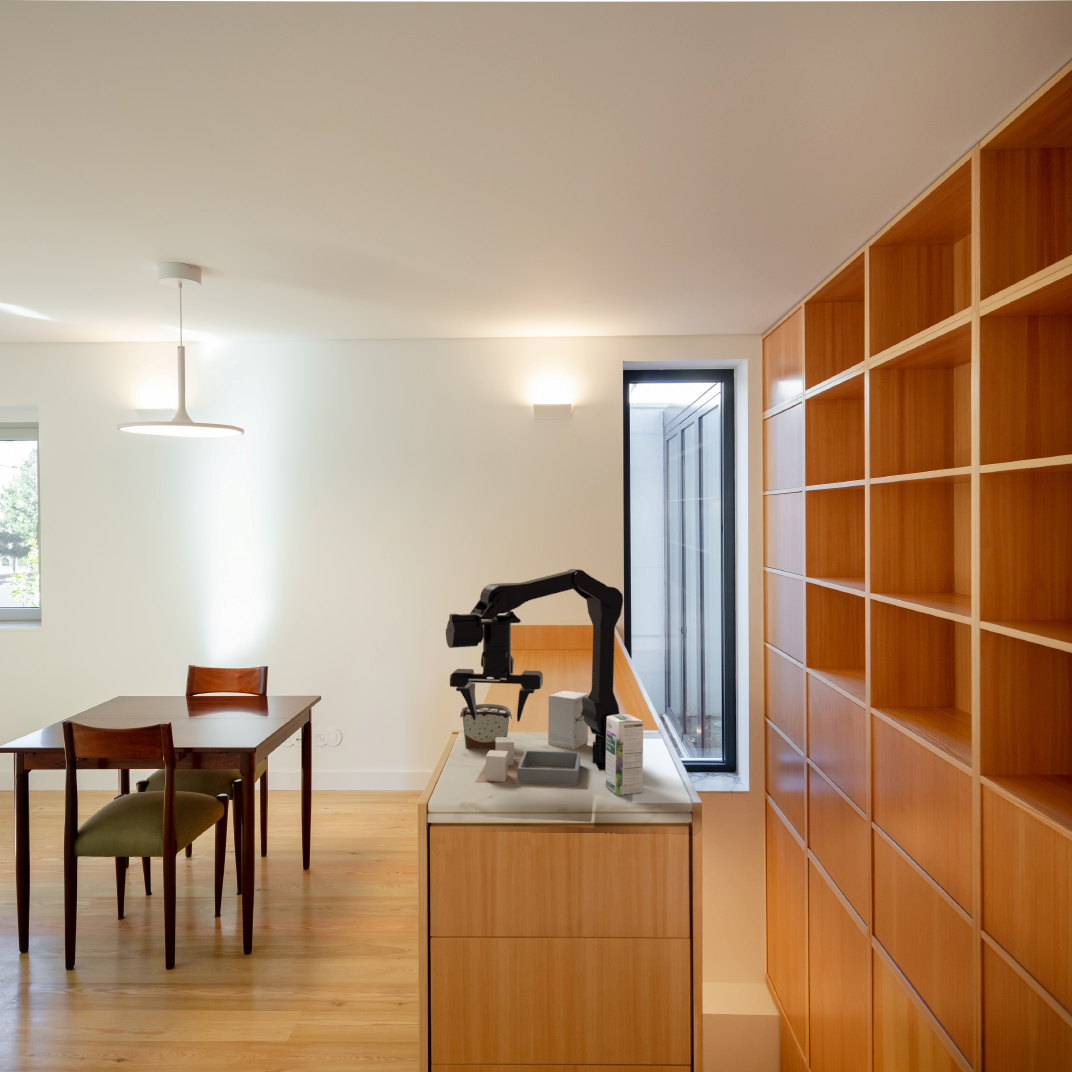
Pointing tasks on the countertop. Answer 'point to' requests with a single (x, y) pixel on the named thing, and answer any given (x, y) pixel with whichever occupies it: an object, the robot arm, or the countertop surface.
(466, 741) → the food container
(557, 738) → the supplement box
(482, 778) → the brown rectangular board
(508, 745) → the cream white block
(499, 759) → the stone
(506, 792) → the countertop surface
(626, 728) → the syrup box
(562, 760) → the bin
